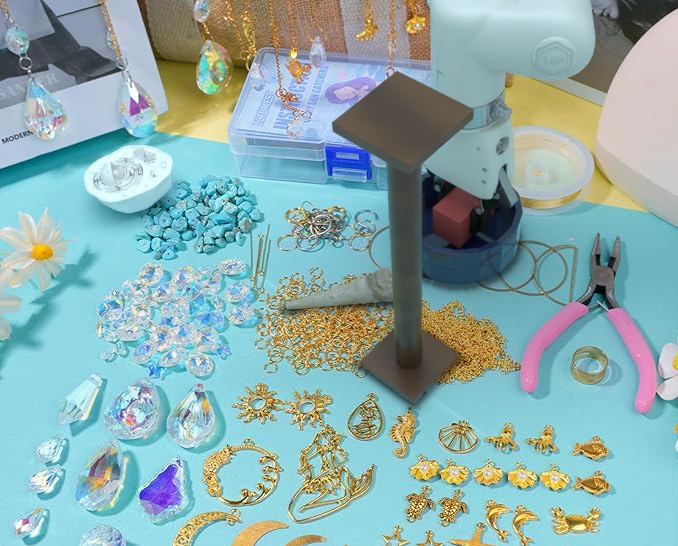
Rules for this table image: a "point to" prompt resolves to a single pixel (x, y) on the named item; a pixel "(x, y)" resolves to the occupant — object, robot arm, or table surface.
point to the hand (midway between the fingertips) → (463, 217)
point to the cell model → (130, 178)
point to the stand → (405, 216)
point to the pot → (468, 243)
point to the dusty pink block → (454, 217)
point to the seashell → (351, 292)
